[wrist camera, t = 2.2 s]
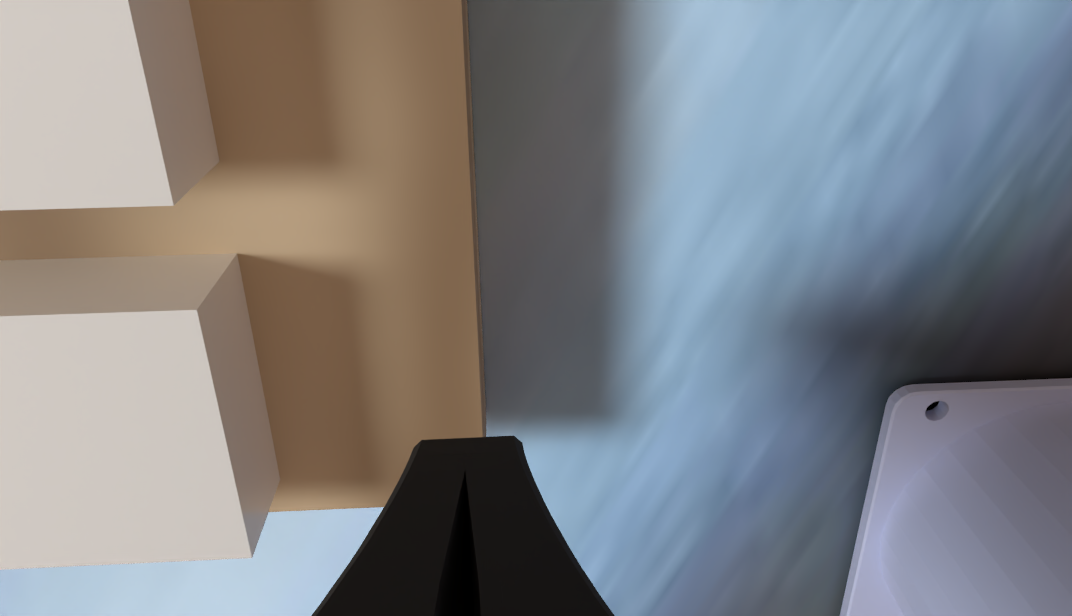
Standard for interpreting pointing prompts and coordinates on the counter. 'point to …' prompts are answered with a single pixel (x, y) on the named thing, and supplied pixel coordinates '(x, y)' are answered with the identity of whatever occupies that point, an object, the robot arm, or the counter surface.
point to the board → (329, 229)
